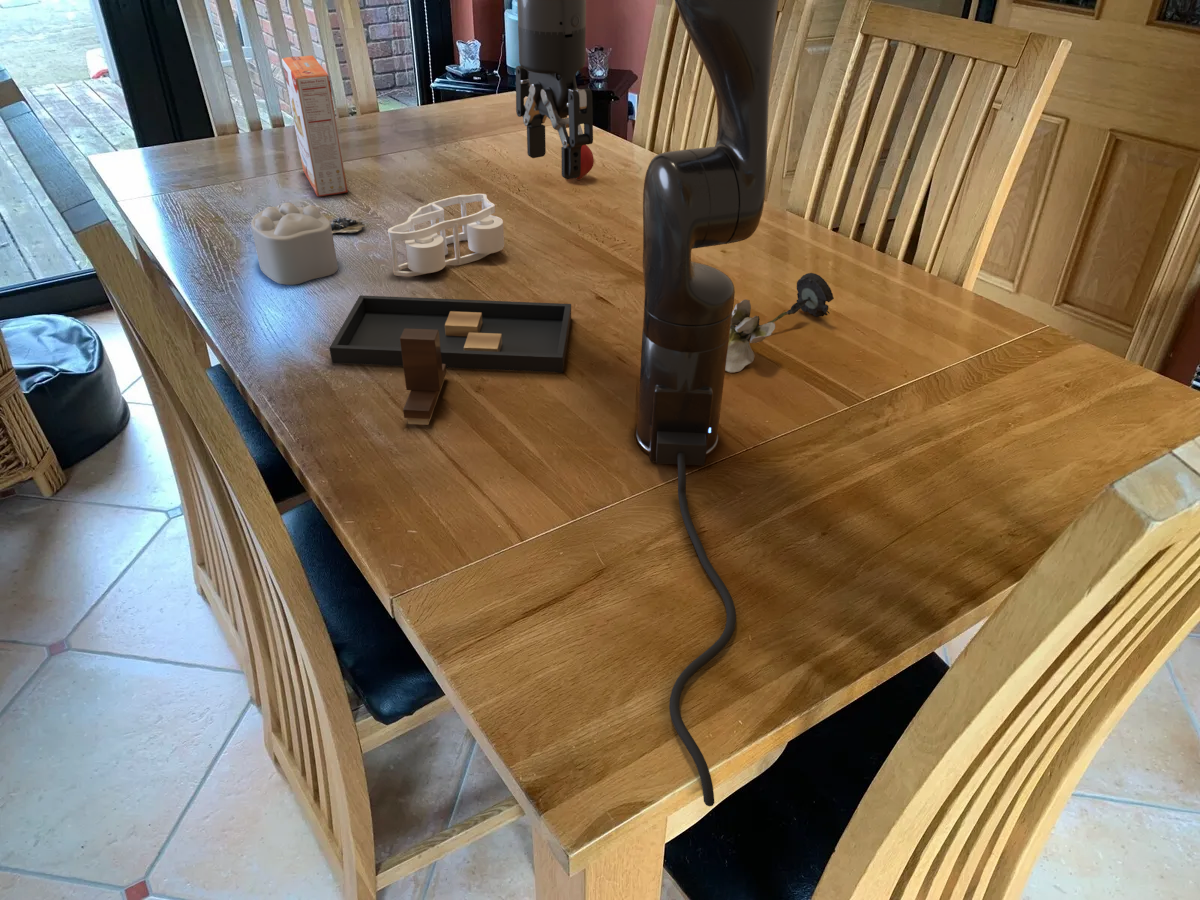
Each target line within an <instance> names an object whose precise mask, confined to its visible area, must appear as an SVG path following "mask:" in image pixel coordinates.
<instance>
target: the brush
mask: <svg viewBox="0 0 1200 900" xmlns="http://www.w3.org/2000/svg"><path fill="white" fill-rule="evenodd" d="M400 344H401V352H402V359H403V366H402V367H403V373H404V382H405V388H406V389H405V390H406V391H410V392H409V394H408V396H407V398H406V402H405V404H404V406H403V410H402V411H403V418H404V419H407V424H408V425H421V426H422V425H423V426H429V424H430V421H431V419H432V417H433V413H434V410H435V407H436V405H437V402H438V399H439V396H440V394H441V391H442V387H443V385H444V382H445V377H446V375H447V368H446V364H442V359H441V349H440V339H439V330H431V329H407V328H405V329H404V331H403V333H402V335H401V337H400Z"/></svg>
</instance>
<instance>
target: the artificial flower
mask: <svg viewBox="0 0 1200 900" xmlns="http://www.w3.org/2000/svg"><path fill="white" fill-rule="evenodd" d="M796 291H797V294H796V296H797V299H796V302H795V303H793V304H792V306H790V308H789V309H788V310H787V311H783V312H782V313H780V314H779V315H777V316H776V317H775V318H773V319H772V320H770V321H768V322H765V323H764V324H760V319H761V318H760V315H754V316H753V317H751V310H752V305H751V304H752V303H751V301H750V300H749V299H742V300H741V301H740V302H738V303H736V304H735V306H734V307H733V311H732V319H731V327H730V336H729V343H728V351H727V359H726V368H725V372H728V373H731V374H734V373H738V372H739V373H740V372H741V371H742V370H743V369H744V368H745V367H746V366H748V365H750V364H752V363H753V362H754V360H755V353H754V350H752V347H751V345H750V344H756V343H761V342H763V341H764V340H766V338H768V337H770V336H771V335H772V334H773V332H774V331H775V329H776V323H775V322H777V321H778V320H780V319H782V318H783V317H784V316H787V315H790V316H791V315H795V314H796V313H798V311H800V310H801V311H802V312H804V313H808V314H810V315H812V316H814V317H816V318H820V317H824V316H828V315H830V314H831V313H830V311H829V305H828V304H827V303H830V302H832V301H833V300H834V298H835V297H834V294H833V292H832V289H831V287H830V286H829V284H828V282H827V281H826V280H825V278H823V277H822V276H821V275H820V274H817V273H814V272H806V273H805V274H803V275H801V277H800V278H799V279H798V280H797V281H796Z"/></svg>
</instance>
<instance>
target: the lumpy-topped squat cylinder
mask: <svg viewBox="0 0 1200 900" xmlns="http://www.w3.org/2000/svg"><path fill="white" fill-rule="evenodd" d="M330 222H331V221H330V220H329V219H328V217H326V216H325V215H324V214H322V213H321V210H320V209H319V208H318V207H317V206H316V205H312V204H309V205H306V206H304V207H303V206H297V205H295V204H294V203H292V202H283V203H281V204H278V205H276V206H275V205H274V206H266V207H265V208H264V209H263V210H261V211H259V212H258V213H256V214H255V215H254V216H253V217H252V220H251V222H250V228H251V233H252V237H253V241H254V246H255V251H256V255H257V260H258V264H259V269H260V271H261V272H262V273H263V274H264V275H265V276H266V277H268V278H269V279H270V280H272V281H273V282H275V283H276V284H280V285H287V286H294V285H300V284H303V283H305V282H308V281H311V280H314V279H318V278H324V277H328V276H331V275H334V274H335V273H336V272H337V271H338V269H339V265H338V259H337V254H336V247H335V241H334V234H333V233H332V229H331V223H330Z"/></svg>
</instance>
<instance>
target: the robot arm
mask: <svg viewBox="0 0 1200 900" xmlns="http://www.w3.org/2000/svg"><path fill="white" fill-rule="evenodd" d="M779 1H780V0H674V2H675V5H676V8H677V12H678V14H679V17H680V19H681V22H682V23H683V25H684V28H685V30H686V32H687V34H688V36H689V38H690V40H691V42H692V44H693V45H694V47H695V49H696V51H697V53H698V56H699V57H700V59H701V61H702V63H703V65H704V68H705V69H706V72H707V74H708V76H709V79H710V81H711V84H712V88H713V92H714V96H715V103H716V110H717V111H716V114H717V116H716V117H717V126H716V127H717V131H716V140H715V144H714V146H707V147H706V146H705V147H697V148H687V149H680V150H679V149H678V150H670V151H665V152H661V153H658V154H656V155H655V156H654V157H653V158H652V159H651V161H650V163H649V164H648V167H647V170H646V172H645V176H644V179H643V180H644V181H643V192H642V275H643V287H644V301H643V302H644V303H643V318H642V334H641V349H640V350H641V351H640V353H641V354H640V367H639V369H640V370H639V371H640V372H639V387H638V389H639V390H638V403H637V404H638V406H637V426H636V430H635V439H636V443H637V445H638V447H639V448H640V449H641V450H642V451H643V452H645V453H646V454H647V455H648V456H649V461H650V462H655V464H660V465H661V464H662V465H677V497H678V503H679V508H680V514H681V517H682V521H683V523H684V527H685V529H686V531H687V534H688V536H689V538H690V540H691V542H692V545H693V548H694V551H695V552H696V555H697V556H698V559H699V561H700V563H701V566H702V567H703V569H704V571H705V573H706V574H707V576H708V577H709V579H710V580H711V582H712V583H713V585H714V586H715V588H716V589H717V591H718V592H719V595H720V597H721V598H722V601H723V604H724V607H725V612H726V613H725V614H726V621H725V627H724V629H723V632H722V633H721V635H720V637H718V639H717V640H716V641H715V642H714V643H713V644H712V645H711V646H710V647H709V648H708V649H706V650H705V651H704V652H702V653H701V654H700V655H699V656H698V657H696V658H695V659H694V660H693V661H691V662H690V663H689V665H687V666H686V667H685V668H684V669H683V670H682V672H681V673H680V674H679V676H678V677H677V678H676V680H675V683H674V684H673V687H672V688H671V693H670V696H669V704H668V707H669V715H670V719H671V722H672V724H673V727H674V730H675V731H676V734H677V735H678V737H679V738H680V739H681V741H682V743H683V744H684V746H685V748H686V749H687V751H688V753H689V754H690V756H691V758H692V760H693V762H694V764H695V766H696V768H697V773H698V775H699V778H700V784H701V788H702V797H703V803H704V804H705V806H707V807H713V806H714V805H715V793H714V792H715V791H714V785H713V781H712V775H711V772H710V770H709V767H708V763H707V762H706V761H707V760H706V759H705V757H704V754H703V753H702V751H701V749H700V747H699V746H698V744H697V742H696V741H695V739H694V737H693V736H692V734H691V732H689V730H688V728H687V726H686V725H685V723H684V721H683V718H682V715H681V707H680V704H681V697H682V692H683V690H684V688H685V686H686V685H687V683H688V682H689V680H690V679H691V678H692V677H693V676H694V675H695V674H696V673H697V672H698V671H700V669H702V668H703V667H704V666H705V665H706V664H707V663H708V662H710V661H712V659H714V658H715V657H716V656H717V655H719V653H720V652H722V650H723V649H724V648H725V647H726V646H727V645H728V643H729V642H730V640H731V638H732V636H733V634H734V632H735V628H736V624H737V611H736V605H735V602H734V600H733V597H732V595H731V593H730V591H729V589H728V587H727V586H726V585H725V582H724V581H723V579H722V578H721V577H720V575H719V574H718V572H717V570H716V569H715V568H714V567H713V565H712V563H711V561H710V559H709V557H708V555H707V552H706V551H705V548H704V546H703V544H702V541H701V539H700V537H699V535H698V532H697V530H696V527H695V526H694V523H693V520H692V517H691V514H690V510H689V505H688V500H687V472H686V471H687V470H686V466H705V464H706V460H707V457H709V456H710V455H711V454H713V452H715V450H716V449H717V446H718V443H719V442H718V441H719V427H720V418H721V410H722V409H721V408H722V401H723V391H724V384H725V375H726V371H725V368H726V359H727V351H728V343H729V336H730V327H731V319H732V312H733V310H734V301H735V293H736V291H735V284H734V283H733V280H732V279H731V278H730V277H729V275H727V274H726V273H725V272H723V271H721V270H720V269H718V268H716V267H713V266H710V265H708V264H705V263H701V262H696V261H693V260H692V250H693V249H701V248H708V247H715V246H721V245H727V244H734V243H738V242H742V241H746V240H747V239H749V238H751V237H752V236H753V234H754V233H756V230H757V229H758V227H759V225H760V223H761V222H760V221H761V220H762V219H761V218H762V215H763V211H764V205H765V199H766V190H767V189H766V188H767V167H768V166H767V165H768V135H769V133H768V132H769V105H770V104H769V103H770V88H771V87H770V85H771V74H772V63H773V53H774V45H775V43H774V42H775V36H776V35H775V33H776V25H777V24H776V23H777V17H778V16H777V15H778V9H779ZM516 3H517V4H516V5H517V33H518V35H517V36H518V63H519V65H516V67H515V112H516V116H517V117H518V118H522V122H523V125H524V126H525V127H526V147H527V148H526V149H527V151H526V153H527V156H528V157H530V158H532V159H536V158H537V159H538V158H542V157H545V155H546V154H547V153H546V152H547V151H546V149H547V147H546V145H547V143H546V125H545V123H546V120H547V119H548V120H550V123H551V127H552V128H553V129H554V130H555V131H557V134H558V136H559V139H560V141H561V145H562V146H561V148H560V149H561V151H560V152H561V176H562V178H563V179H565V180H573V179H576V178H578V177H579V176H580V174H581V147H582V146H583V145H587V146H588V145H592V144H593V143H594V124H593V123H594V114H593V113H594V112H593V110H594V109H593V91H592V89H591V88H581V89H580V88H578V84H577V80H576V74H577V73H578V72H579V71H580V70H582V69H583V68H584V67H585V65H586V38H587V37H586V33H587V32H586V31H587V28H586V25H587V24H586V23H587V20H586V19H587V1H586V0H516ZM525 98H526V100H525ZM582 125H583V128H582ZM567 129H568V130H567Z"/></svg>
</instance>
